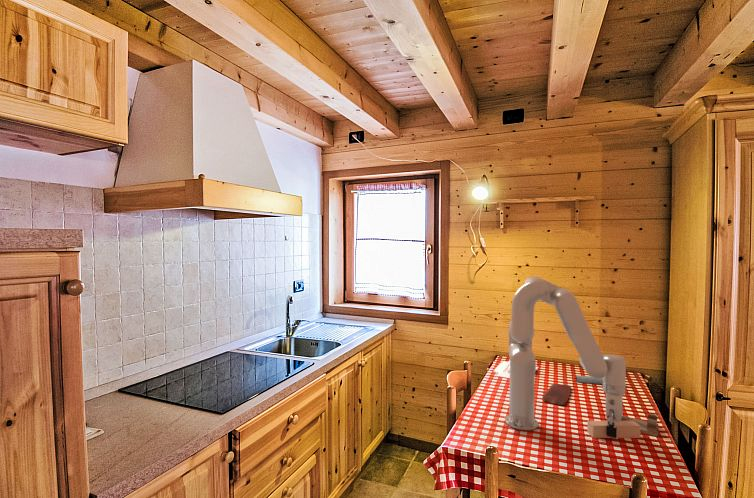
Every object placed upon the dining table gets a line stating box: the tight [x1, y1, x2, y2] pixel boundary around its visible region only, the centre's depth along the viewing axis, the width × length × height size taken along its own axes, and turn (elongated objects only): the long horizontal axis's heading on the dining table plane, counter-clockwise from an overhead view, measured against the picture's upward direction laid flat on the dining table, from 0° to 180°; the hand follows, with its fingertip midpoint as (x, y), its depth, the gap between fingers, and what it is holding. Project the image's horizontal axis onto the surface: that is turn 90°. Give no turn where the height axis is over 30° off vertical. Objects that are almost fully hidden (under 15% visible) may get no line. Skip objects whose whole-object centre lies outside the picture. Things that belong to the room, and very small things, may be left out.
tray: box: [493, 360, 539, 379], centre depth 224 cm, size 20×28×4 cm
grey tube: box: [574, 375, 603, 385], centre depth 204 cm, size 23×7×3 cm, turn 76°
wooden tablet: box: [542, 383, 572, 406], centre depth 190 cm, size 27×10×2 cm, turn 145°
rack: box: [621, 413, 659, 437], centre depth 159 cm, size 10×16×4 cm, turn 53°
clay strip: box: [586, 420, 641, 439], centre depth 152 cm, size 4×18×5 cm, turn 90°
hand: (612, 431), depth 152 cm, fingers open, 9 cm apart
